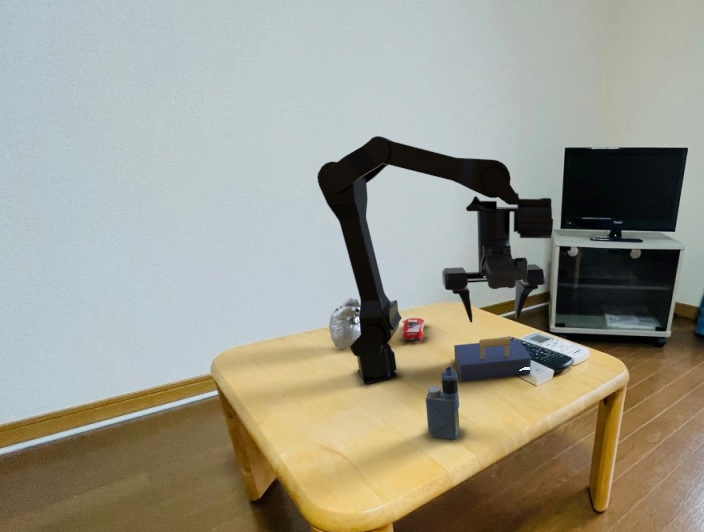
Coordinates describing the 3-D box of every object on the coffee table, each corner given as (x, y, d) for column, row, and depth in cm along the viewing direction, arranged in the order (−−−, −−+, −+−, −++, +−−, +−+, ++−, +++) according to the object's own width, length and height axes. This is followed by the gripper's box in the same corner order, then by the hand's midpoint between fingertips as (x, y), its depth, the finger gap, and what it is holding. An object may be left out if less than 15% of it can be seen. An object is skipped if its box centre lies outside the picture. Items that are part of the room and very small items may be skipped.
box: (530, 373, 82) (530, 359, 81) (461, 381, 79) (460, 367, 77) (518, 355, 91) (518, 341, 89) (454, 361, 87) (454, 347, 86)
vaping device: (457, 441, 61) (454, 373, 56) (426, 436, 62) (419, 369, 57) (463, 431, 64) (459, 365, 59) (432, 427, 64) (426, 361, 59)
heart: (341, 333, 100) (328, 290, 93) (377, 334, 99) (366, 292, 93) (322, 356, 92) (306, 311, 85) (361, 358, 91) (347, 312, 84)
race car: (405, 325, 107) (403, 311, 105) (425, 324, 108) (424, 310, 106) (400, 344, 95) (398, 329, 94) (423, 343, 96) (422, 328, 94)
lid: (531, 360, 80) (532, 339, 78) (460, 368, 77) (459, 345, 75) (518, 341, 89) (518, 321, 87) (454, 347, 86) (453, 327, 84)
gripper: (446, 247, 61) (451, 339, 67) (558, 243, 65) (553, 330, 72) (439, 236, 71) (444, 318, 77) (537, 234, 75) (534, 311, 82)
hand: (494, 320), depth 77 cm, fingers open, 9 cm apart
